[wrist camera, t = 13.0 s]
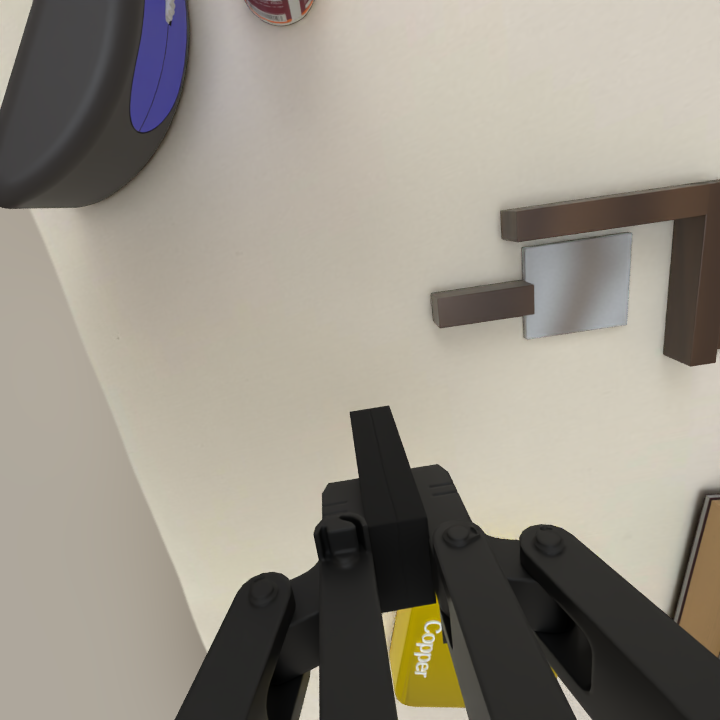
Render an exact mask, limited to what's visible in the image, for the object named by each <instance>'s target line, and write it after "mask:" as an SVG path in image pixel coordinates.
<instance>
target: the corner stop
mask: <svg viewBox="0 0 720 720" xmlns="http://www.w3.org/2000/svg"><path fill="white" fill-rule="evenodd" d="M668 220H675V222H674V234H673V246H672V258H671V270H670V282H669V294H668V306H667V318H666V330H665V342H664V355H666V356H668V357H670V358H673V359H675V360H677V361H679V362H681V363H684V364H686V365H688V366H697V365H703V364H710V363H715V362H716V355H717V349H720V179H719V180H712V181H706V182H698V183H691V184H684V185H677V186H670V187H663V188H656V189H649V190H642V191H635V192H628V193H621V194H614V195H607V196H600V197H593V198H586V199H579V200H572V201H565V202H558V203H551V204H544V205H536V206H529V207H522V208H515V209H508V210H501V233H502V239H505V240H510V241H515V242H522V241H529V240H536V239H543V238H550V237H557V236H564V235H571V234H578V233H585V232H592V231H599V230H606V229H613V228H620V227H627V226H634V225H640V224H647V223H654V222H661V221H668Z"/></svg>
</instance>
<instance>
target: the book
mask: <svg viewBox="0 0 720 720" xmlns="http://www.w3.org/2000/svg"><path fill="white" fill-rule="evenodd" d="M673 620H674V621H675V622H676V623H677V624H678V625H680V626H681V627H682V628H683V629H684V630H685V631H687V632H688V633H689V634H690V635H691V636H693V637H694V638H695V639H696V640H697V641H698V642H700V643H701V644H702V645H703V646H704V647H706V648H707V649H708V650H709V651H710V652H711V653H713V654H714V655H715V656H716V657H717V658H719V659H720V494H706V495H705V499H704V502H703V506H702V510H701V514H700V518H699V522H698V526H697V530H696V533H695V537H694V541H693V545H692V549H691V553H690V557H689V561H688V565H687V568H686V572H685V576H684V580H683V584H682V588H681V592H680V596H679V599H678V603H677V607H676V611H675V615H674V619H673Z"/></svg>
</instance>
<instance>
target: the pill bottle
mask: <svg viewBox="0 0 720 720" xmlns="http://www.w3.org/2000/svg"><path fill="white" fill-rule="evenodd" d="M245 2H246V4H247V5H248V7H249V8H250V10H251V11H252V12H253V13H254V14H255V15H256V16H258V17H259V18H260V19H262V20H263V21H265V22H267V23H270V24H272V25H278V26H282V25H289V24H292V23H294V22H296V21H298V20H300V19H301V18H302V17H304V16H305V15H306V13H307V12H308V11H309V9H310V8H311V6H312V4H313V2H314V0H245Z"/></svg>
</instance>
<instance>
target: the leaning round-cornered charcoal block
mask: <svg viewBox="0 0 720 720" xmlns="http://www.w3.org/2000/svg"><path fill="white" fill-rule="evenodd" d="M188 48H189V17H188V6H187V0H33V3H32V7H31V10H30V13H29V17H28V20H27V23H26V26H25V30H24V33H23V36H22V40H21V43H20V46H19V50H18V53H17V56H16V60H15V63H14V66H13V69H12V73H11V76H10V79H9V83H8V86H7V89H6V93H5V96H4V99H3V103H2V106H1V109H0V207H2V208H8V209H18V208H19V209H21V208H77V207H83V206H87V205H90V204H93V203H96V202H99V201H101V200H103V199H105V198H107V197H109V196H110V195H112V194H113V193H115V192H116V191H118V190H119V189H120V188H122V187H123V186H124V185H126V184H127V183H128V182H129V181H130V180H131V179H132V178H133V177H134V176H135V175H136V174H137V173H138V172H139V171H140V170H141V169H142V168H143V167H144V166H145V164H146V163H147V162H148V161H149V159H150V158H151V157H152V155H153V154H154V152H155V151H156V149H157V148H158V146H159V145H160V143H161V141H162V139H163V138H164V136H165V134H166V132H167V130H168V128H169V126H170V123H171V121H172V119H173V116H174V114H175V111H176V108H177V105H178V102H179V99H180V95H181V91H182V88H183V83H184V78H185V73H186V67H187V59H188Z"/></svg>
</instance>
